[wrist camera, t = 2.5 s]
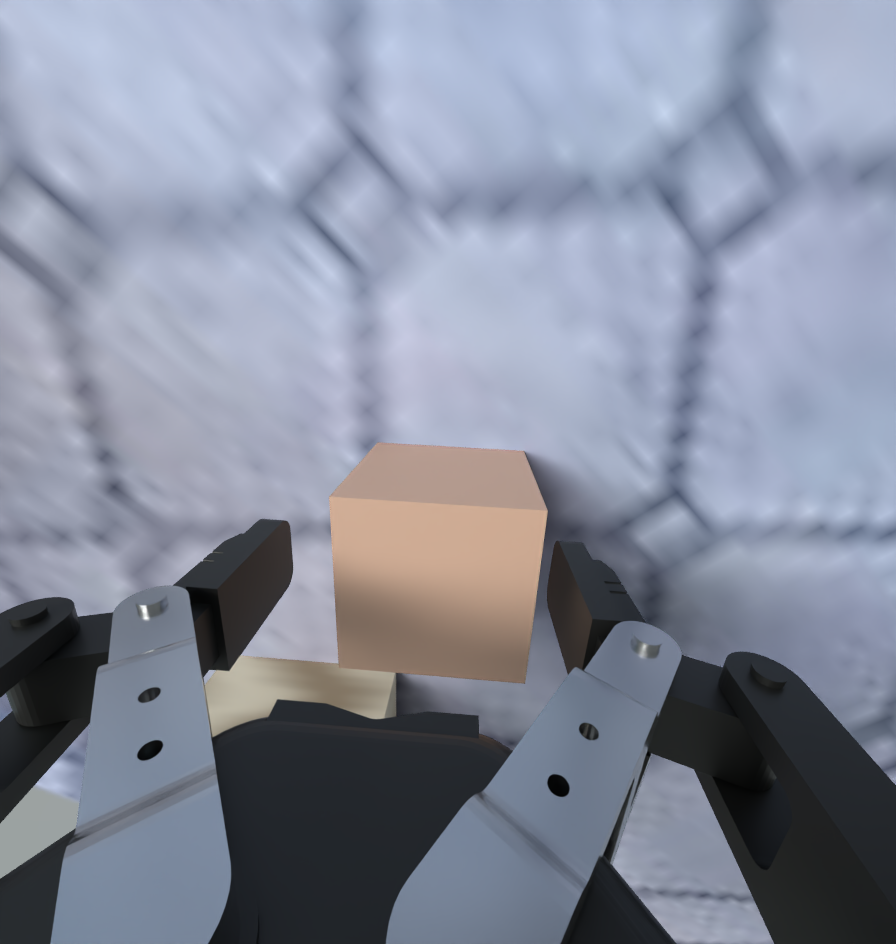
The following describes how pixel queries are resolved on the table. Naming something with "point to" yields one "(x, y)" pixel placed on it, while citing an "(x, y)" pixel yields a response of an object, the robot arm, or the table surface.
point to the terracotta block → (437, 561)
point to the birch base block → (295, 689)
